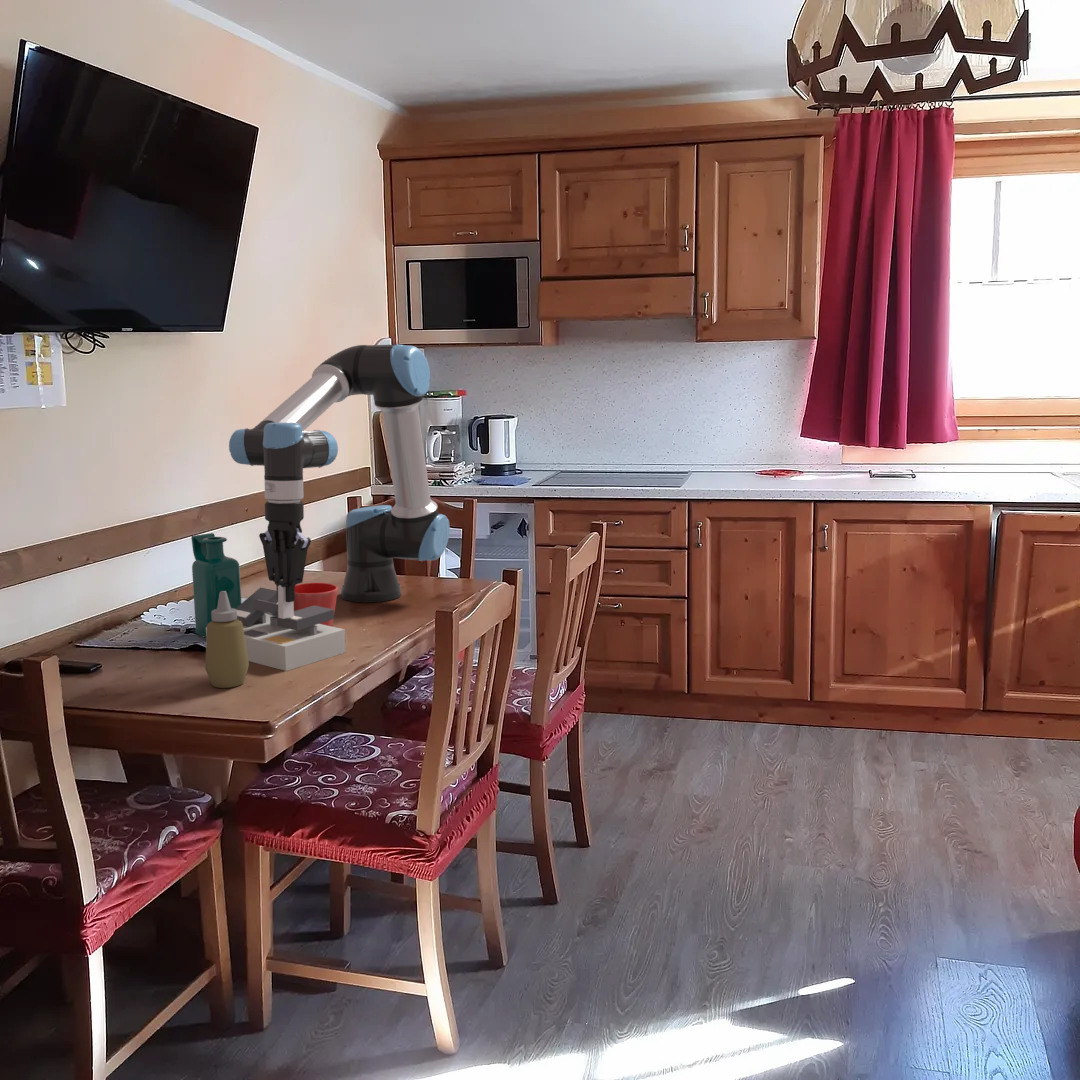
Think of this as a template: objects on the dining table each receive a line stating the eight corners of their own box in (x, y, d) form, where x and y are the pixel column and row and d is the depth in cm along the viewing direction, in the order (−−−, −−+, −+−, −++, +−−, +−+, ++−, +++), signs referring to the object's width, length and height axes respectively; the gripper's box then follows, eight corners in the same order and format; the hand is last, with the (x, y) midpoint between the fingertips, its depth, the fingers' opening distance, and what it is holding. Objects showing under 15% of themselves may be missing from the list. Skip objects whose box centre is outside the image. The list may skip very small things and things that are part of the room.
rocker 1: (264, 594, 233) (260, 587, 232) (282, 598, 229) (278, 590, 228) (231, 622, 226) (227, 614, 225) (249, 626, 223) (245, 618, 222)
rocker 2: (286, 620, 228) (289, 610, 229) (305, 624, 225) (308, 615, 225) (251, 608, 220) (254, 598, 221) (270, 612, 217) (273, 602, 217)
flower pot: (328, 636, 234) (326, 594, 233) (282, 634, 237) (280, 591, 235) (346, 624, 245) (344, 583, 243) (301, 622, 247) (300, 581, 245)
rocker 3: (314, 614, 224) (313, 604, 224) (334, 618, 220) (333, 608, 220) (277, 625, 216) (276, 615, 216) (297, 630, 213) (296, 620, 212)
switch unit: (267, 634, 237) (265, 604, 235) (345, 652, 222) (344, 621, 221) (207, 650, 224) (205, 619, 223) (286, 671, 209) (284, 637, 208)
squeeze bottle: (211, 678, 205) (205, 587, 202) (253, 677, 206) (249, 586, 202) (201, 691, 197) (195, 597, 194) (245, 690, 198) (240, 596, 194)
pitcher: (246, 633, 237) (241, 536, 233) (212, 641, 231) (206, 541, 227) (223, 625, 244) (218, 531, 240) (189, 633, 238) (183, 536, 234)
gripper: (247, 499, 211) (250, 615, 215) (291, 504, 204) (293, 625, 207) (277, 496, 217) (279, 609, 221) (320, 501, 210) (322, 618, 213)
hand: (286, 617), depth 214 cm, fingers closed
